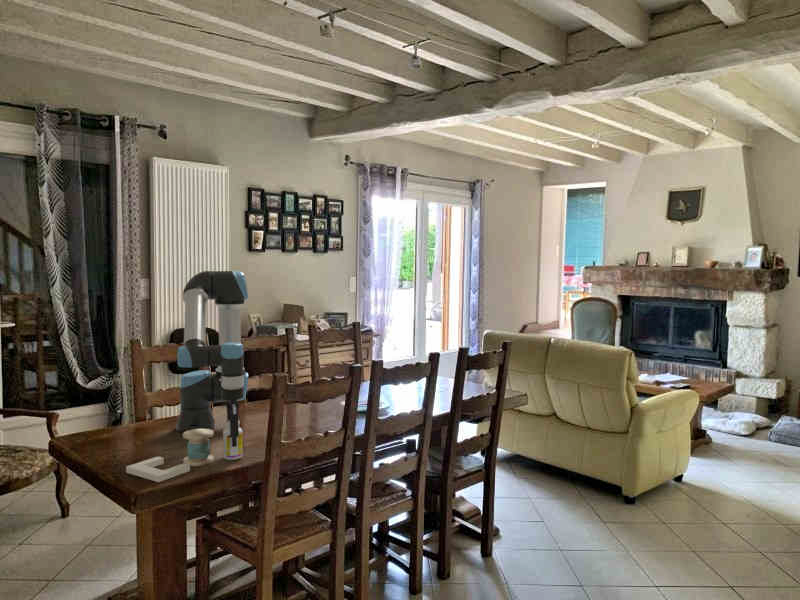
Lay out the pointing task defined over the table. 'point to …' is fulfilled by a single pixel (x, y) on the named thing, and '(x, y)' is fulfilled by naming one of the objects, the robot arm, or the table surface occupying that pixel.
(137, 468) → the notched board
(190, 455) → the bobbin
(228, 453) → the supplement bottle
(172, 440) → the table surface
